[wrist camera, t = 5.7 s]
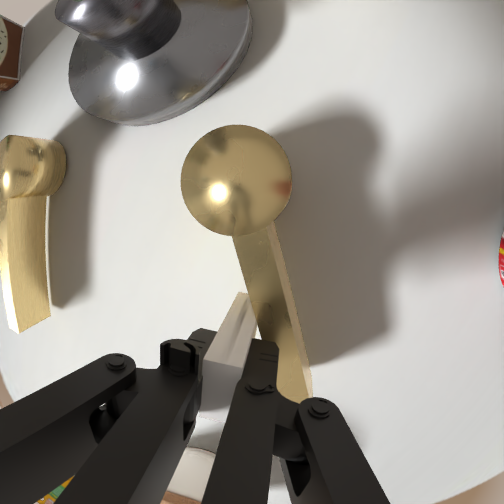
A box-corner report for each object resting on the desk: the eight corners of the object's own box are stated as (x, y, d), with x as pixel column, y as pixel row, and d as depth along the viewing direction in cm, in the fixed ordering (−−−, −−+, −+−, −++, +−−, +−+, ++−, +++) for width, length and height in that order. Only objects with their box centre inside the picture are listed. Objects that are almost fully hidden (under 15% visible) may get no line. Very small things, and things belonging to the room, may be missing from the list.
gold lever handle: (203, 158, 15) (169, 145, 11) (279, 135, 14) (273, 111, 10) (267, 379, 17) (259, 426, 13) (334, 366, 16) (342, 414, 12)
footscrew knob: (37, 142, 17) (-4, 137, 12) (70, 139, 16) (25, 131, 12) (34, 304, 20) (0, 321, 15) (65, 319, 19) (28, 341, 15)
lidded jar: (137, 455, 22) (100, 515, 13) (174, 412, 20) (126, 497, 10) (222, 499, 22) (203, 562, 13) (281, 467, 19) (270, 552, 10)
